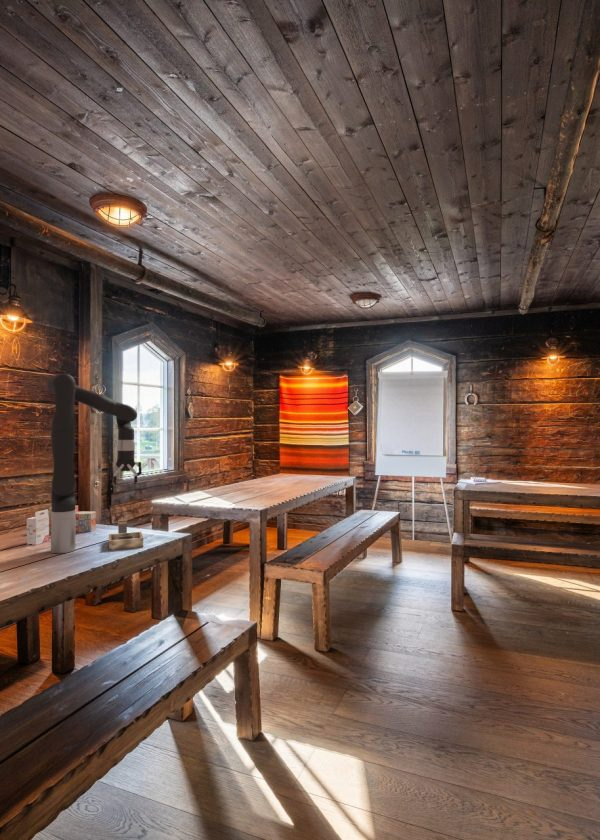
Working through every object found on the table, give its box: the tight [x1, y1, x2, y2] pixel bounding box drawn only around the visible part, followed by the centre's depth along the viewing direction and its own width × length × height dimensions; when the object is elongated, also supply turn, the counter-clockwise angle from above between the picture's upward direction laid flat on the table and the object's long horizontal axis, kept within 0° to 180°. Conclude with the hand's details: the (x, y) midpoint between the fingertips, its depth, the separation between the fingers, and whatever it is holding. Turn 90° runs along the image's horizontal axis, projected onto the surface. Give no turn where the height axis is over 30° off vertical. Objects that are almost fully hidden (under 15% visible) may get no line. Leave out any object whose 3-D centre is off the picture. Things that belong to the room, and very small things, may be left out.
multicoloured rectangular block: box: [48, 505, 97, 533], centre depth 246 cm, size 21×6×12 cm, turn 88°
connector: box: [117, 518, 128, 534], centre depth 227 cm, size 4×4×9 cm
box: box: [108, 531, 144, 551], centre depth 216 cm, size 14×14×4 cm
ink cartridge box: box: [26, 508, 50, 546], centre depth 221 cm, size 9×5×15 cm, turn 168°
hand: (125, 484), depth 227 cm, fingers open, 8 cm apart
